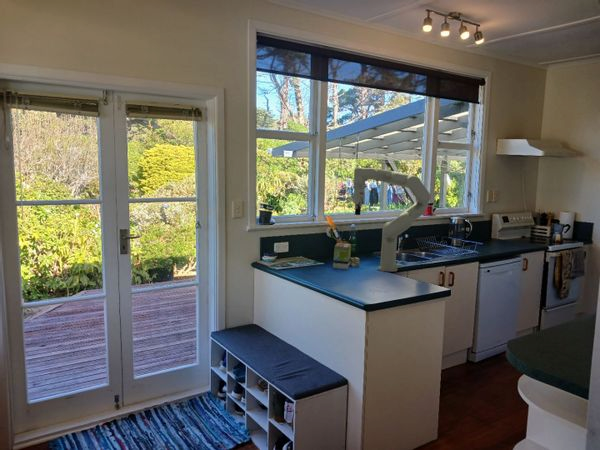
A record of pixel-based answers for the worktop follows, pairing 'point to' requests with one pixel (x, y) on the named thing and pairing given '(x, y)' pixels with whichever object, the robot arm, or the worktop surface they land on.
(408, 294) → the worktop surface
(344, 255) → the tea box
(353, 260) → the birch block
